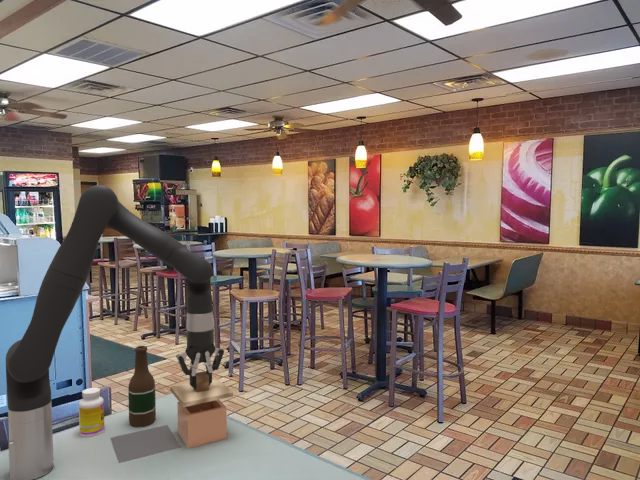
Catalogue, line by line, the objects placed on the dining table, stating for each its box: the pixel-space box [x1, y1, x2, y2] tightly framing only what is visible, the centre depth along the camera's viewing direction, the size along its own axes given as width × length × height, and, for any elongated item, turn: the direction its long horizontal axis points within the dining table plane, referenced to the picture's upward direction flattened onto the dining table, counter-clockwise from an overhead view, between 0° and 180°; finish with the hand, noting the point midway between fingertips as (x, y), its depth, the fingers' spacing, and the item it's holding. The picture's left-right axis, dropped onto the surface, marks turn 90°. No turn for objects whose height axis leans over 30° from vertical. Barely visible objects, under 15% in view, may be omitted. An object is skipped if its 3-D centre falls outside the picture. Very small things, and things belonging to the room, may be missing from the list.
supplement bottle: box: [78, 387, 105, 438], centre depth 138 cm, size 7×7×13 cm
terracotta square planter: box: [176, 399, 228, 449], centre depth 136 cm, size 11×11×10 cm
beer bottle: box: [127, 345, 157, 428], centre depth 144 cm, size 8×8×24 cm
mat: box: [110, 424, 182, 464], centre depth 132 cm, size 16×16×1 cm
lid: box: [169, 371, 234, 407], centre depth 135 cm, size 14×14×6 cm
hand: (201, 386), depth 135 cm, fingers closed on lid, 3 cm apart
